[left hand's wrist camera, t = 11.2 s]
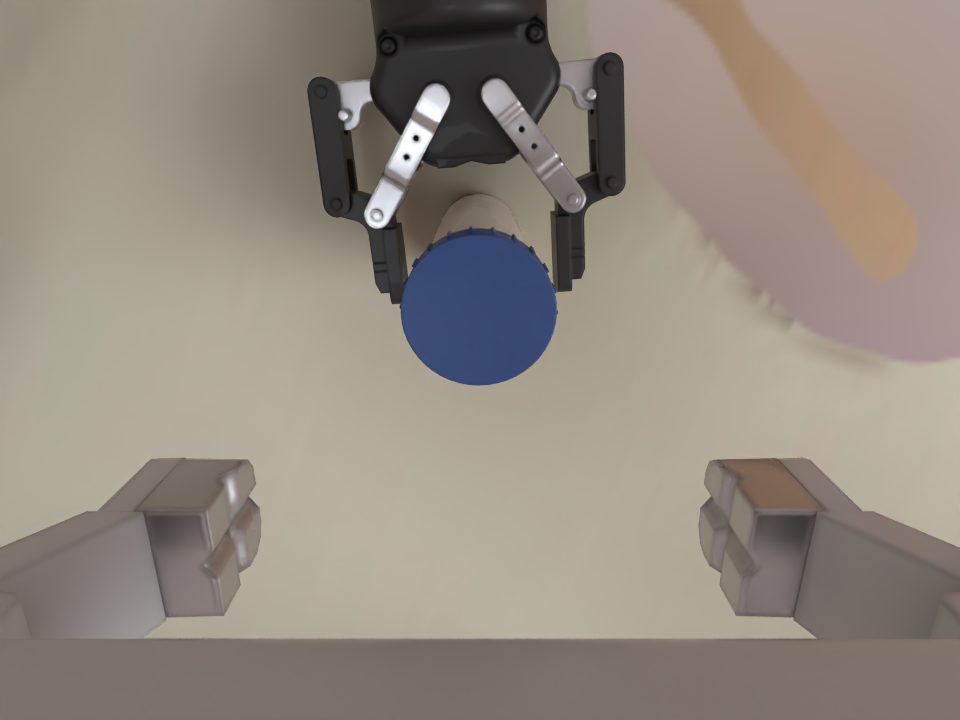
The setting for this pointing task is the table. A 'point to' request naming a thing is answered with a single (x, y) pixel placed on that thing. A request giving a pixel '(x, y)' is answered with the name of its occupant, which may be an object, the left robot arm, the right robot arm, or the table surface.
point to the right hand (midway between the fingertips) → (482, 294)
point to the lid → (478, 306)
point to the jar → (478, 216)
